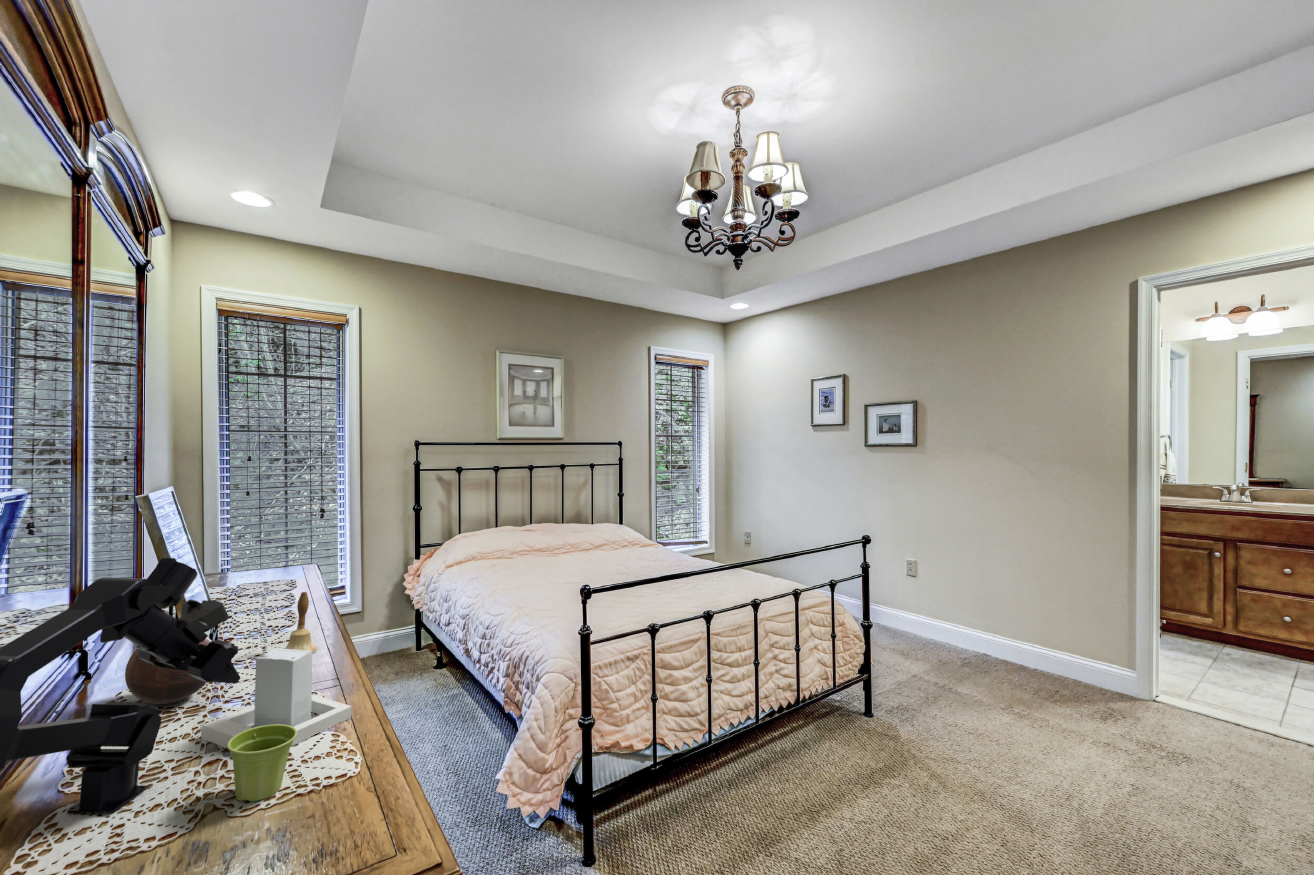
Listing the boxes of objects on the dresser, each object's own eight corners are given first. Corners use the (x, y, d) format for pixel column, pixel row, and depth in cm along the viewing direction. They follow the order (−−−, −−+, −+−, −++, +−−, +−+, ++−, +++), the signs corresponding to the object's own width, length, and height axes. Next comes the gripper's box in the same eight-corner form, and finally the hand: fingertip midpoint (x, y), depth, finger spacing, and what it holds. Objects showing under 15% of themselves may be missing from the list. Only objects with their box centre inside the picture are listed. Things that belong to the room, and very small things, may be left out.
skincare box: (311, 723, 116) (316, 649, 116) (288, 738, 110) (294, 660, 110) (273, 719, 117) (279, 645, 117) (249, 733, 111) (255, 656, 111)
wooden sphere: (229, 696, 126) (234, 627, 126) (145, 723, 112) (151, 646, 113) (190, 681, 132) (195, 616, 133) (107, 705, 118) (113, 632, 119)
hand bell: (283, 648, 156) (288, 589, 156) (318, 645, 159) (322, 588, 160) (278, 658, 148) (282, 597, 149) (315, 655, 152) (319, 595, 152)
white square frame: (260, 760, 102) (262, 746, 102) (200, 738, 108) (201, 724, 108) (351, 718, 119) (351, 706, 119) (294, 701, 125) (295, 689, 125)
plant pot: (281, 768, 100) (285, 718, 100) (302, 791, 94) (305, 737, 94) (215, 791, 92) (220, 736, 93) (233, 817, 86) (237, 759, 87)
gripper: (230, 597, 96) (289, 644, 106) (164, 582, 103) (225, 627, 113) (172, 658, 89) (241, 703, 99) (105, 637, 96) (176, 681, 106)
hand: (221, 675), depth 104 cm, fingers open, 9 cm apart
